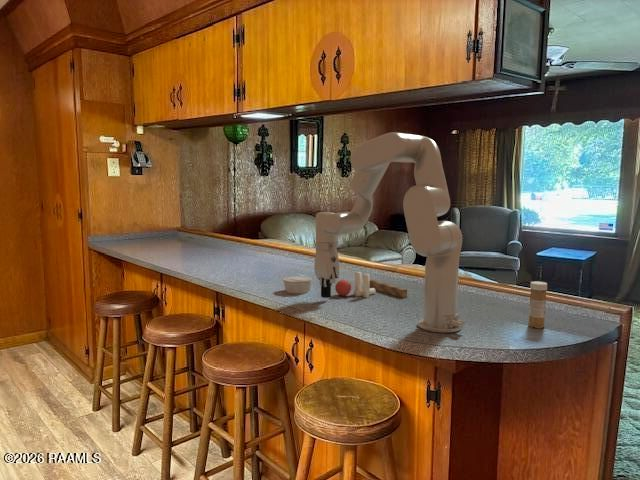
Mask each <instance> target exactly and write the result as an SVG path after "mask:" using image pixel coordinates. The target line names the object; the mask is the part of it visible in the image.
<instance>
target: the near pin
mask: <svg viewBox="0 0 640 480" xmlns="http://www.w3.org/2000/svg"><path fill="white" fill-rule="evenodd" d="M370 276H371V275H370V274H369V273H364V274H363V275H362V289H363V296H362V298H370V295H369V282H370V279H371V278H370Z"/></svg>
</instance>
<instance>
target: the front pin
mask: <svg viewBox="0 0 640 480" xmlns="http://www.w3.org/2000/svg"><path fill="white" fill-rule="evenodd" d="M376 292H377V290H375V288H369V296H371V295H376V294H377V293H376ZM353 295H354V297H355V298H357V297H363V288H361V290H355V289H354V291H353Z"/></svg>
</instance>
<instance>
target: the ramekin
mask: <svg viewBox="0 0 640 480" xmlns="http://www.w3.org/2000/svg"><path fill="white" fill-rule="evenodd" d="M312 281H313V278H312V277H311V276H306V275H292V276H291V275H290V276H286V277H284V278H283V285H284V289H285V291H286V293H288V294H292V295H300V294H301V295H302V294H303V295H304V294H307V293H309V292H310V291H311V286H312Z"/></svg>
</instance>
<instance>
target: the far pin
mask: <svg viewBox="0 0 640 480" xmlns="http://www.w3.org/2000/svg"><path fill="white" fill-rule="evenodd" d="M355 290H362V271H355V272H354V291H355Z"/></svg>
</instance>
